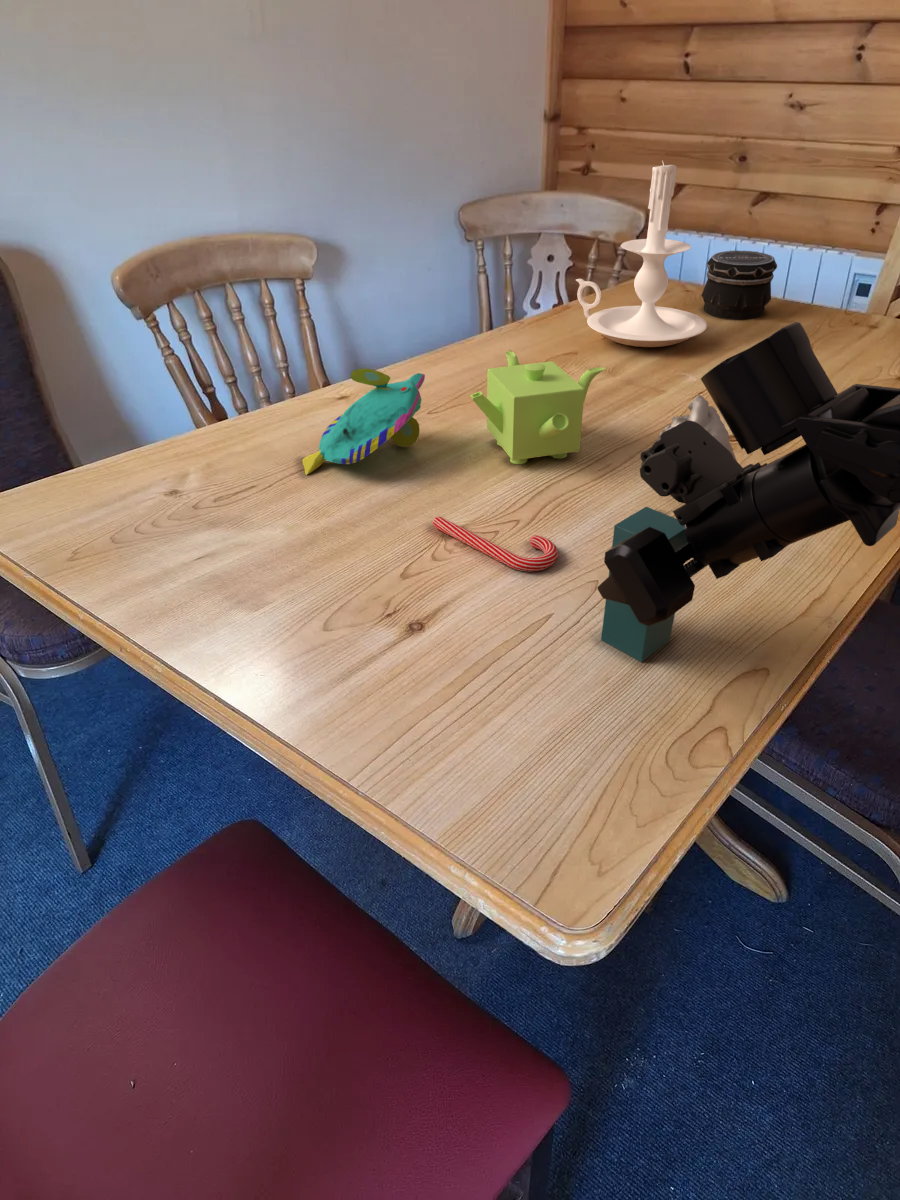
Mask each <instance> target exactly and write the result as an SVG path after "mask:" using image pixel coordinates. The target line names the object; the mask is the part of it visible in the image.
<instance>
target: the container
mask: <svg viewBox="0 0 900 1200" xmlns="http://www.w3.org/2000/svg"><path fill="white" fill-rule="evenodd" d="M706 267H707V271H706V278H707V280H706V282H705V285H704V288H703V290H702V293H701V297H702V300H703V302H704V304H703V311H704V312H705V313H706V314H709V315H710V316H713V317H716V318H721V319H724V320H725V319H726V320H748V319H754V318H758V317H760V316H761V315H763V314H764V313H765V310H766V306H767V305H768V304H769V303H770V301H771V300H772V280H773V279H774V277H775V275H774V272H775V271H776V270H777V269H778V264H777V262H776V260H775V257H774V256H772V255H771V254H768V253H765V252H759V251H753V250H726V251H725V250H724V251H720V252H716V253H714V254H712V256H711V257H710V258H709V259H708V261H707V262H706Z"/></svg>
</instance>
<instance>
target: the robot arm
mask: <svg viewBox="0 0 900 1200" xmlns="http://www.w3.org/2000/svg"><path fill="white" fill-rule="evenodd" d="M700 380H701V382H702V384H703V386H704V387H705V389H706V391H707V392H708V394H709V395H710V398H711V399H712V401H713V402H714V405H715V407H716V408H717V409H718V411H719V413H720V415H721V416H722V418H723V420H724V421H725V423H726V425H727V426H728V428H729V430H730V432H731V433H732V436H733V437H734V439H735V440H736V442H737V444H738V446H739V447H740V449H741V450H744V451H745V452H746V455H750V454H752V453H754V452H757V451H758V450H760V451H761V453H762V454H763V456H767V455H768V454H771V453H772V452H774V451H776V450H778V449H780V448H781V447H784V446H785V445H787V444H789V443H790V442H792V441H795V440H797V439H798V438H800V437H801V438H802V439H803V441H804V443H805V444H804V445H802V446H800V447H798V448H795V449H794V450H792V451H790V452H788V453H786V454H784V455H783V456H780V457H778V458H776V459H775V460H773V461H771V462H769V463H767V462H765V463H764V464H761V463H760V462H757V463H754V464H753V463H749V464H748V465H746V466H744V467H743V466H742V465H741V464H740V463H739V462H738V460H737V459H736V460H737V461H736V460H735V459H734V457H733V455H732V453H731V452H730V451H729V450H728V449H727V448H725V447H724V446H723V445H722V444H721V443H720V442H719V441H718V440H717V439H715V438H714V437H713V436H712V435H711V434H710V433H709V432H708V431H707V430H705V429H704V428H703V427H702V426H701V425H700V424H698V423H696V422H694V421H685V422H683V423H681V424H679V425H677V426H675V427H673V428H671V429H669V430H667V431H665V432H663V433H662V434H661V433H660V434H661V435H660V437H658V438H657V440H656V441H655V442H653V444H652V446H651V447H649V448H647V449H645V450H643V451H641V453H640V460H641V461H642V463H641V464H640V467H639V476H640V478H641V479H642V480H643V481H644V483H646V484H647V485H648V486H649V487H650V488H651V489H652V490H653V491H654V492H655V493H656V494H657V495H658V496H660V497H669V496H671V498H673V499H674V500H675V501H677V502H678V503H681V504H682V505H681V506H679V507H677V508H676V509H674V510H673V511H672V513H673V515H674V516H675V518H676V519H677V520H678V522H679V523H680V525H682V526H683V525H685V529H684V532H685V536H686V539H687V543H685V544H684V545H682V546H681V547H679V548H678V549H676V550H674V548H673V547H672V545H671V543H670V541H669V540H668V538H667V536H666V535H665V533H664V532H661V531H659V530H657V529H654V528H652V527H648V528H646V529H644V530H642V531H640V532H638V533H636V534H635V535H633V536H631V537H629V538H628V539H626V540H624V541H623V542H621V543H619V544H618V545H616V546H615V547H613V548H612V547H611V548H609V549H608V550H606V551H605V552H604V561H603V562H604V564H605V566H606V567H607V569H608V572H609V571H610V573H611V575H610V576H609V575H608V576H607V578H605V580H604V581H602V582H601V583H600V584H599V585H598V586H597V591H598V592H599V594H600V596H601V597H602V599H603V600H606V599H607V600H611V601H615V602H619V603H623V604H627V605H629V606H630V607H631V609H632V611H633V613H634V614H635V616H636V618H637V619H638V621H639V623H641V624H643V625H646V626H650V625H653V624H656V623H658V622H661V621H664V620H666V619H668V618H669V617H670V616H672V615H673V614H674V613H675V614H676V613H677V612H678V611H680V610H681V609H683V608H684V607H685V606H686V605H688V604H689V603H691V602H692V601H693V598H694V593H695V588H696V584H695V582H694V581H693V579H692V577H694V576H695V575H696V574H698V573H699V572H701V571H702V570H704V569H705V568H707V566H708V567H709V568H710V570H711V572H712V574H713V575H714V577H715V579H716V580H718V579H720V578H723V577H726V576H728V575H729V574H730V573H732V572H734V570H736V569H737V568H739V567H740V566H741V565H742V564H744V563H747V562H750V561H752V560H755V559H757V558H759V560H760V562H764V561H766V560H768V559H771V558H774V557H775V556H776V555H777V554H779V553H780V552H781V551H783V550H785V548H786V547H788V546H790V545H792V544H794V543H797V542H799V541H802V540H804V539H807V538H810V537H812V536H815V535H817V534H820V533H822V532H825V531H827V530H830V529H832V528H834V527H836V526H839V525H841V524H844V523H847V522H849V521H850V522H851V524H852V526H853V527H854V529H855V531H856V533H857V534H858V536H859V538H860V539H861V541H862V544H864V545H865V546H867V547H873V546H875V545H876V544H877V543H878V542H879V541H881V540H882V539H883V538H884V537H885V536H886V535H887V534H888V533H890V531H892V530H893V529H894V528H895V527H896V526H897V523H898V518H899V515H900V387H899V388H898V387H890V386H889V387H888V386H879V385H871V384H862V383H855V384H852V385H851V386H849V387H848V388H846V389H844V390H842V391H840V392H837V390H836V388H835V387H834V385H833V383H832V382H831V380H830V378H829V375H828V374H827V373H826V371H825V369H824V367H823V366H822V365H821V362H820V361H819V359H818V358H817V356H816V354H815V352H814V350H813V347H812V344H811V340H810V338H809V336H808V334H807V332H806V330H805V329H804V327H803V325H802V324H801V322H799V321H794V322H792V323H789V324H788V325H786V326H783V327H781V328H780V329H778V330H777V331H775V332H774V333H773V334H771V335H770V336H768V337H766V338H764V339H762V340H761V341H759V342H758V343H755V344H754V345H752V346H750V347H749V348H747V349H744V350H743V351H740V352H737V353H736V354H734V355H732V356H730V357H727V358H726V359H724V360H723V361H721V362H720V363H718V364H717V365H715V366H714V367H713V368H712V369H710V370H709V371H707V372H706V373H705V374H703V375H702V376H701V378H700ZM683 564H684V566H683Z"/></svg>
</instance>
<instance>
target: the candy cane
mask: <svg viewBox="0 0 900 1200" xmlns="http://www.w3.org/2000/svg"><path fill="white" fill-rule="evenodd" d="M432 526H433V527H434V528H435V529H437V530H438V531H441V532H442V533H444V534H446V535H448V536H451V537H452V538H454V539H456V540H458V541H460V542H462V543H464V544H465V545H468V546H469V547H471V548H473V549H475V550H477V551H479V552H480V553H483V554H484V555H486V556H488V557H491V558H492V559H494V560H496V561H498V562H500V563H502V564H504V565H506V566H508V567H509V568H512V569H514V570H517V571H520V572H521V571H522V572H539V571H543V570H545V569H548V568H549V567H551V566H552V565H554V564H555V562H556V561H557V559H558V555H559V552H558V548H557V546H556V544H555V543H554V542H552V541H551V540H550V539H549V538H546V537H544V536H541V535H538V534H537V535H536V534H534V535H532V536H531V537H530V538H529V544H530V546H531V547H532V548H533V549H537V550H540V551H541V552H543V554H542V555H540V556H535V557H524V556H520V555H517V554H515V553H513V552H511V551H509V550H508V549H505V548H503V547H501V546H500V545H498V544H496V543H493V542H492V541H490V540H488V539H485V538H484V537H481V536H480V535H477V534H475V533H473V532H472V531H470V530H468V529H466V528H464V527H462V526H460V525H458V524H456V523H454V522H452V521H450V520H448V519H446V518H444V517H443V516H436V517H434V518H433V519H432Z"/></svg>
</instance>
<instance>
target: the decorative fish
mask: <svg viewBox="0 0 900 1200" xmlns="http://www.w3.org/2000/svg"><path fill="white" fill-rule="evenodd" d="M425 378H426V375H425V374H424V373H419V372H417V373H414V374H413V375H412V376H410V377H409V378H408V379H406V380H402V381H398V382H392V383H391V382H390V380H391V376H390V375H388V374H385V373H383V372H382V371H379V370H376V369H372V368H357V369H354V370H352V372H351V373H350V379H351V380H352V381H353V382H355V383H359V384H364V385H368V386H373V388H372V389H370V391H368V392H366V393H365V394H364V395H362V396H361V397H360V398H358V399H357V400H356V401H355V402H353V403H352V404H351V405H350V406H349V407H348V408H347V409H345V411H344V412H343V413H342V414H340V415H339V416H338V417H337V418H335V419H334V420H333V421H332V422H331V423H330V424H328V425H327V426H326V428H325V430H324V431H323V433H322V435H321V437H320V439H319V440H320V441H319V443H318V451H317V452H315V453H311V454H309V455H306V456H305V457H304V458H303V459H302V465H303V469H304V474H305V475H306V476H307V475H309V474H312V472H314V471H315V470H316V469H318V468H319V467H321V465H323V464H324V463H325V462H327V461H328V462H331V463H334V464H338V465H339V464H340V465H350V464H355V463H357V462H360V461H361V460H363V459H365V458H366V457H368V456H369V455H371V454H372V453H373V452H375V451H376V450H377V449H378V448H379V447H380V446H382V445H383V444H384V443H386V442H387V441H388V440H389V439H390V438H391V441H392V443H394V444H395V445H396V446H399V447H403V448H404V447H411V446H412V445H414V444H415V443H417V441H418V439H419V436H420V429H421V428H420V423H419V422H418V420H417V419H416V418H414V415H415V414H416V413H417V412H418V411H419V410H420V409H421V407H422V406H421V404H422V396H421V393H420V391H419V390H420V388H421V387H422V386H423V384H424V382H425ZM389 382H390V383H389Z"/></svg>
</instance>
